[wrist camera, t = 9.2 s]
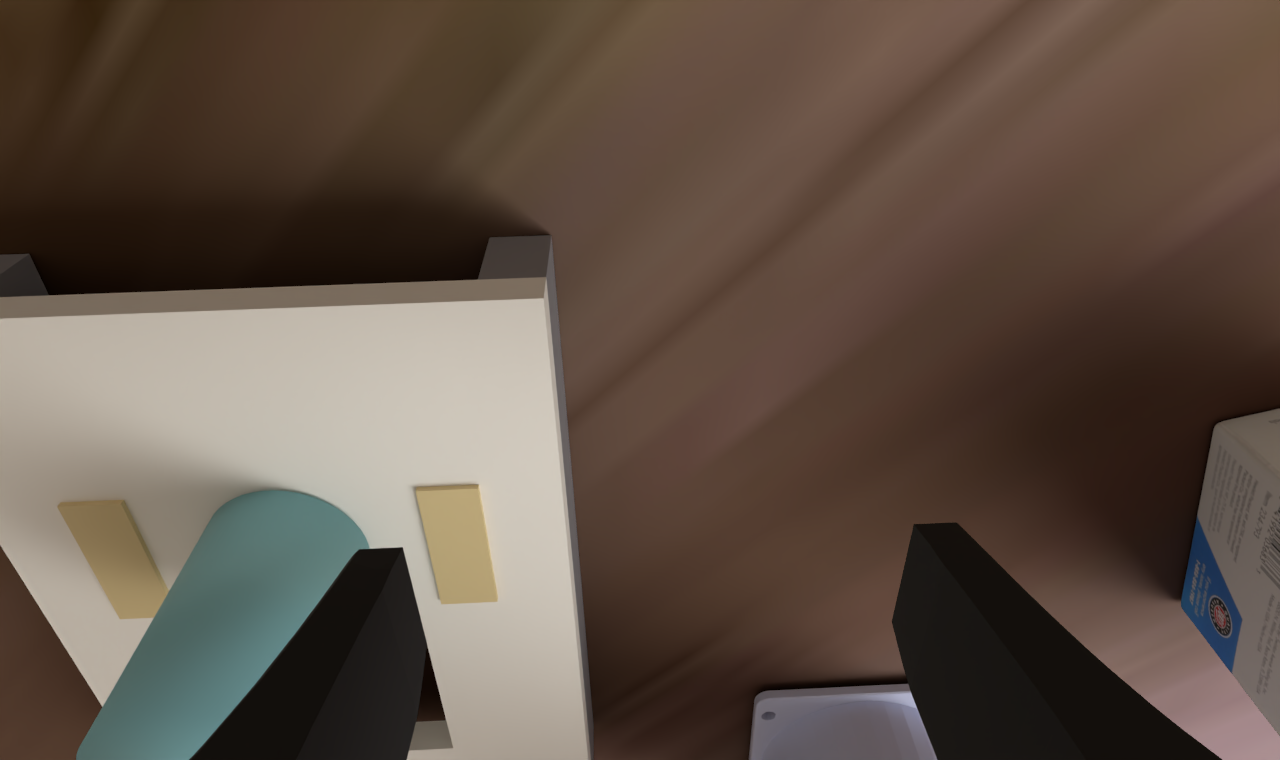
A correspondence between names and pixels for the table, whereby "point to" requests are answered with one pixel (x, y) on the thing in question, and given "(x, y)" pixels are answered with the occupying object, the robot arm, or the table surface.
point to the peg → (223, 623)
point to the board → (312, 467)
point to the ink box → (1241, 556)
